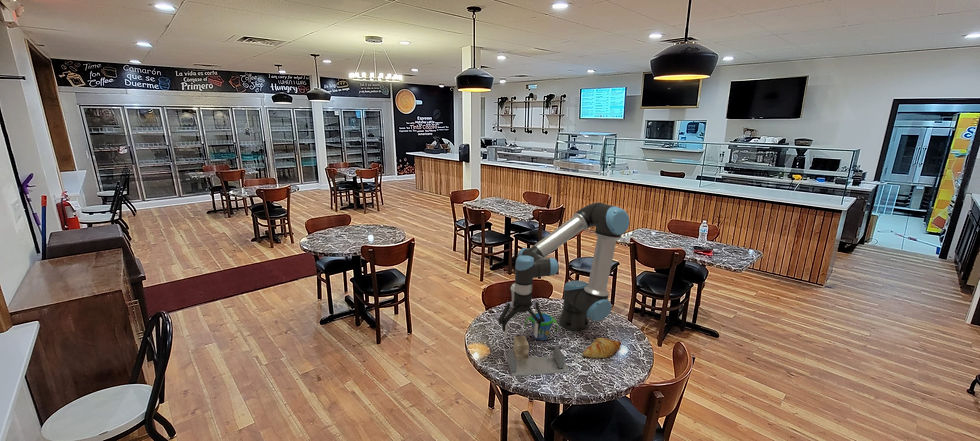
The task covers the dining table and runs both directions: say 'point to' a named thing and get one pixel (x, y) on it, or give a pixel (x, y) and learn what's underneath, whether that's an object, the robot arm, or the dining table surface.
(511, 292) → the coffee cup
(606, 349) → the croissant
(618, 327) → the dining table surface
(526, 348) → the block
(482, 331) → the dining table surface
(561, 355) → the sliding jaw
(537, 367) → the vise bed
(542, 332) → the snack cup
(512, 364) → the fixed jaw
